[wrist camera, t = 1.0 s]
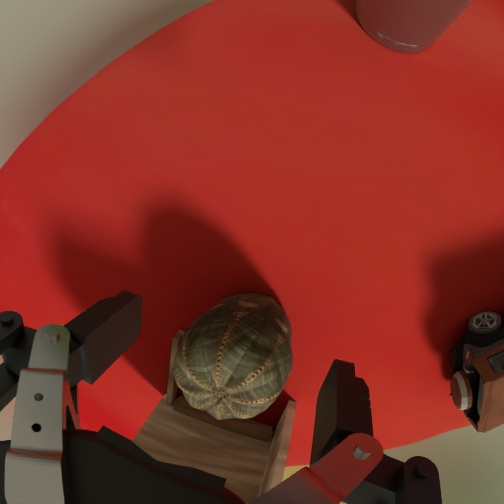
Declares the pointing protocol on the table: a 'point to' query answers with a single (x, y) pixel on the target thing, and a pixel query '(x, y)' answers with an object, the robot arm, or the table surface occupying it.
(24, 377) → the robot arm
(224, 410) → the shell
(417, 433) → the table surface
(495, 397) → the toy car
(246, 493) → the shelter
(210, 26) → the table surface
